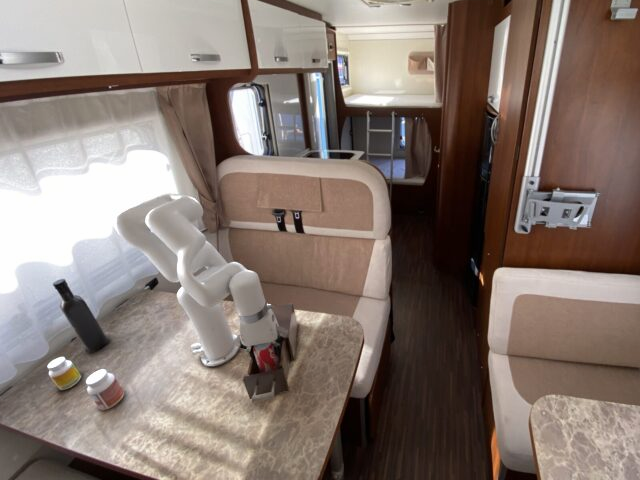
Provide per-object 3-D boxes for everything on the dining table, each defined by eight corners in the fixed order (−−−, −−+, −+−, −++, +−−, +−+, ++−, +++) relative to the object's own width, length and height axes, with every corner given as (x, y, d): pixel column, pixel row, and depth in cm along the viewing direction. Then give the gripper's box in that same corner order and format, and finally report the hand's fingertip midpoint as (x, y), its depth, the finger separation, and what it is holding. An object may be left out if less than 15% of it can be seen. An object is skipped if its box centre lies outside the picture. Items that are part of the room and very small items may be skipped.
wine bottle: (90, 354, 110) (49, 289, 98) (85, 347, 112) (44, 284, 100) (109, 342, 114) (72, 279, 102) (104, 336, 117) (67, 274, 105)
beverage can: (274, 380, 93) (266, 353, 88) (256, 377, 94) (247, 350, 89) (284, 362, 98) (277, 335, 94) (267, 359, 100) (259, 333, 95)
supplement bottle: (84, 378, 101) (70, 358, 97) (63, 393, 96) (48, 372, 93) (76, 372, 103) (63, 352, 99) (56, 386, 99) (40, 366, 95)
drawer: (287, 407, 88) (281, 387, 84) (246, 416, 86) (238, 396, 82) (292, 350, 105) (288, 332, 102) (258, 357, 103) (253, 338, 100)
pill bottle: (127, 386, 97) (112, 363, 93) (121, 404, 92) (106, 380, 88) (103, 395, 95) (87, 372, 90) (95, 414, 90) (78, 390, 85)
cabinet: (294, 359, 103) (288, 337, 99) (255, 367, 101) (248, 344, 97) (297, 323, 117) (292, 303, 113) (263, 330, 115) (257, 309, 111)
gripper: (285, 296, 91) (295, 339, 98) (225, 307, 88) (240, 350, 96) (282, 315, 84) (294, 359, 91) (217, 327, 82) (234, 371, 89)
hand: (266, 354), depth 93 cm, fingers closed on beverage can, 6 cm apart
